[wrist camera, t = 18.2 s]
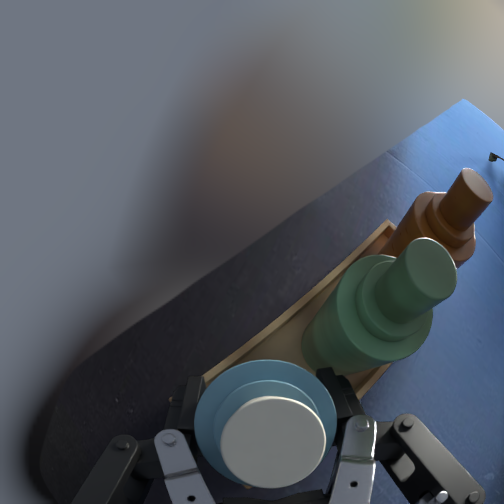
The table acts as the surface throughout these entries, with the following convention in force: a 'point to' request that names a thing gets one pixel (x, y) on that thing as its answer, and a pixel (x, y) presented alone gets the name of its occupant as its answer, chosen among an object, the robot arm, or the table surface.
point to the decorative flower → (493, 157)
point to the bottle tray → (377, 293)
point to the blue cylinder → (265, 423)
